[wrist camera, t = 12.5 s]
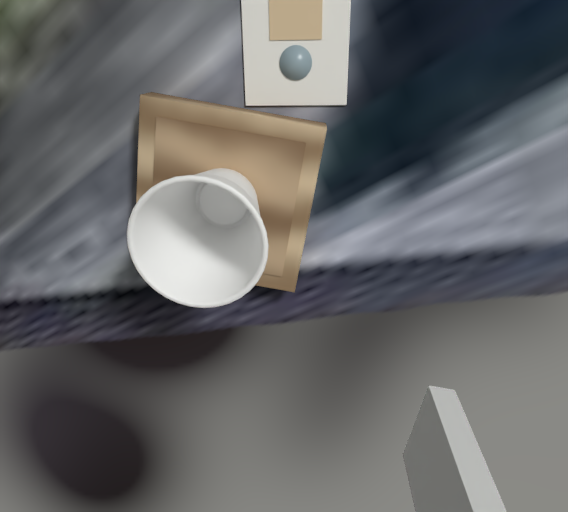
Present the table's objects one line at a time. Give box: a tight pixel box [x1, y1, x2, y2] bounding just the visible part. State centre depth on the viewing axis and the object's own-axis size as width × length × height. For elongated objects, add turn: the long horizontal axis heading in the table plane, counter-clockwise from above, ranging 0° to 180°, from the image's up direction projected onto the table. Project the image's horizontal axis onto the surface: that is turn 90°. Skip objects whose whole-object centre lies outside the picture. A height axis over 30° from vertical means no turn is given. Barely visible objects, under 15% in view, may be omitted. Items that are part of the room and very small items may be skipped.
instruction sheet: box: [241, 0, 351, 106], centre depth 39 cm, size 12×9×1 cm
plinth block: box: [136, 92, 327, 292], centre depth 43 cm, size 16×16×3 cm
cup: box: [127, 168, 269, 308], centre depth 37 cm, size 10×10×11 cm
